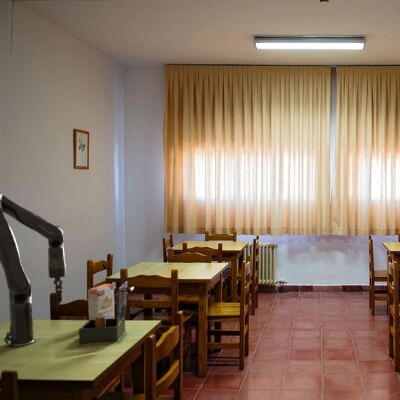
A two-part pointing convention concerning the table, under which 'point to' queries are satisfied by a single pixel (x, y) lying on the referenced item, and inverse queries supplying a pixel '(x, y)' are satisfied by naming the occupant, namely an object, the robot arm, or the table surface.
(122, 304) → the lid
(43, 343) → the table surface
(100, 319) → the bottle
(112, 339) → the warmer
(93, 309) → the cracker box
